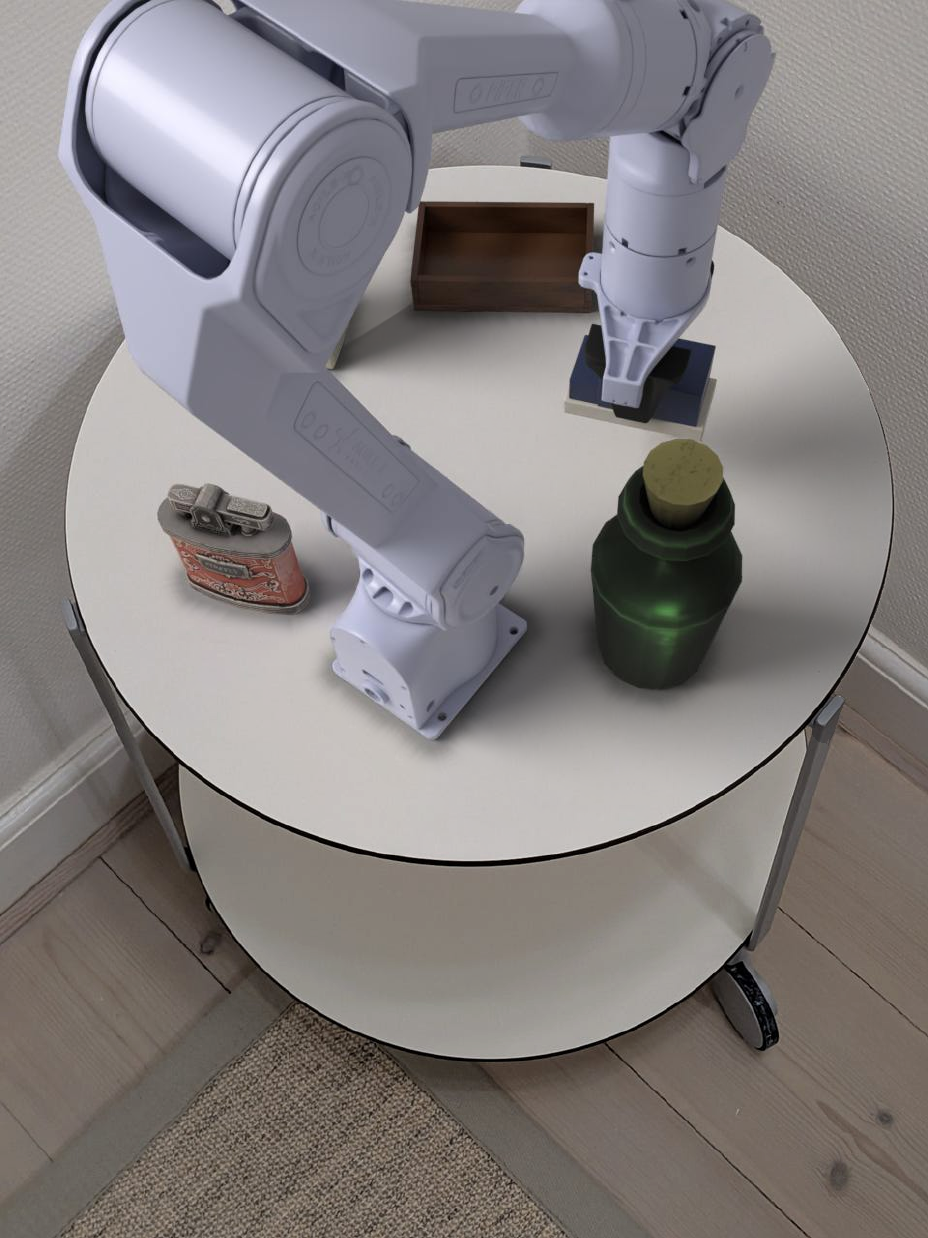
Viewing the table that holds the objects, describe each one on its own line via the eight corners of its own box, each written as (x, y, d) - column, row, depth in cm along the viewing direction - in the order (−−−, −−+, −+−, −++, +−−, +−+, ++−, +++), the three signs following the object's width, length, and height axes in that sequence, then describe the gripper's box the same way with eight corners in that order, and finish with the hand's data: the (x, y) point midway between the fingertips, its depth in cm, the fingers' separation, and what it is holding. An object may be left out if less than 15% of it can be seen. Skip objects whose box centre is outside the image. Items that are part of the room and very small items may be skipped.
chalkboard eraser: (714, 391, 76) (724, 345, 72) (700, 442, 74) (709, 398, 70) (579, 362, 77) (582, 316, 74) (563, 412, 76) (564, 368, 72)
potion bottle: (666, 730, 72) (703, 576, 56) (556, 651, 75) (562, 482, 59) (747, 633, 75) (804, 459, 59) (638, 560, 77) (664, 375, 61)
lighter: (180, 593, 78) (134, 506, 69) (201, 548, 79) (159, 457, 71) (299, 623, 76) (269, 538, 68) (318, 577, 78) (290, 488, 69)
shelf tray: (592, 233, 90) (594, 202, 88) (590, 312, 87) (592, 282, 84) (422, 231, 91) (418, 200, 89) (413, 309, 88) (410, 279, 85)
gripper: (618, 106, 66) (605, 285, 78) (546, 307, 60) (544, 468, 72) (749, 127, 65) (716, 306, 77) (690, 335, 59) (664, 495, 71)
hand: (641, 386), depth 74 cm, fingers closed on chalkboard eraser, 4 cm apart
